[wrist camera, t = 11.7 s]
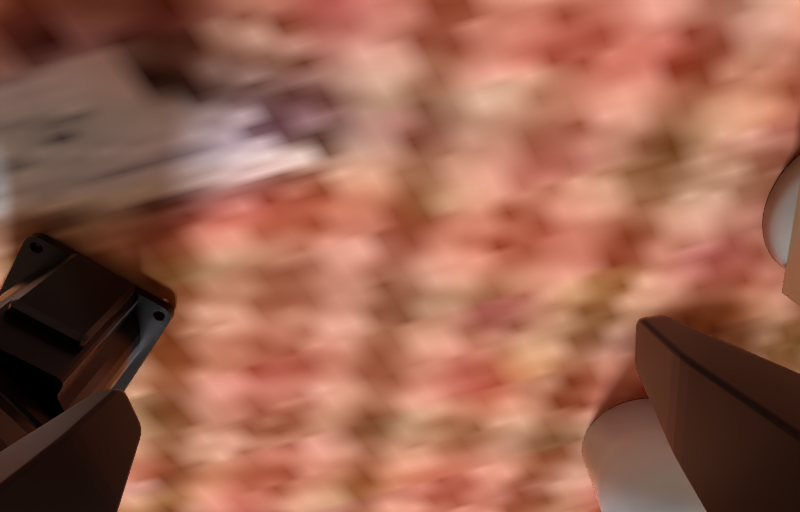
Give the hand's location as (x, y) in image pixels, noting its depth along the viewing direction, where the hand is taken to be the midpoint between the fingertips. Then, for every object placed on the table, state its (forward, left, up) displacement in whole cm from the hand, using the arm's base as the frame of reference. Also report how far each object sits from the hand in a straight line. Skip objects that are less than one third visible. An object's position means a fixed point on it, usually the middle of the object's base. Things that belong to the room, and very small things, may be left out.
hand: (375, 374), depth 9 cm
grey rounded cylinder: (-4, -19, -13) cm, 23 cm away
